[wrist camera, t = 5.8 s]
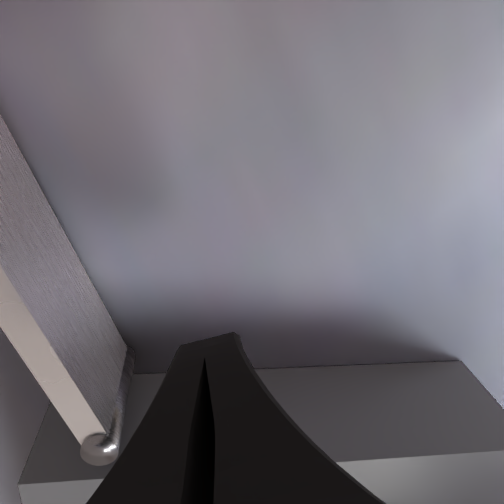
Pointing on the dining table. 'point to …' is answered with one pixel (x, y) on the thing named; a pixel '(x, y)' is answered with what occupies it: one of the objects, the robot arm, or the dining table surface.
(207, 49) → the dining table surface
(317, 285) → the dining table surface
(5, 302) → the side door
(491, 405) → the camera case
